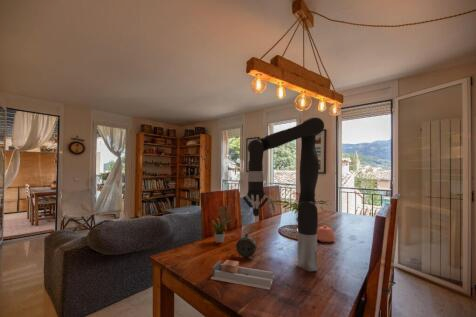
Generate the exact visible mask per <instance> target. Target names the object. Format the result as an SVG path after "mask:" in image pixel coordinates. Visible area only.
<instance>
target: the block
mask: <svg viewBox="0 0 476 317" xmlns="http://www.w3.org/2000/svg"><path fill="white" fill-rule="evenodd" d="M222 264H223V271H224V272H230V273H236V274H238V273H239V267H240V261H237V260H231V259H226V260H225V261H224V262H223V263H222Z"/></svg>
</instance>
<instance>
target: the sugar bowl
mask: <svg viewBox="0 0 476 317" xmlns="http://www.w3.org/2000/svg"><path fill="white" fill-rule="evenodd" d="M334 240H336V237H335V234H334V231H333V229H332V228H330V227H329V226H327V225H325V224H324V225H322V226H320V227H319V226H318V227H317V241H320V242H321V243H332V242H334Z"/></svg>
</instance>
